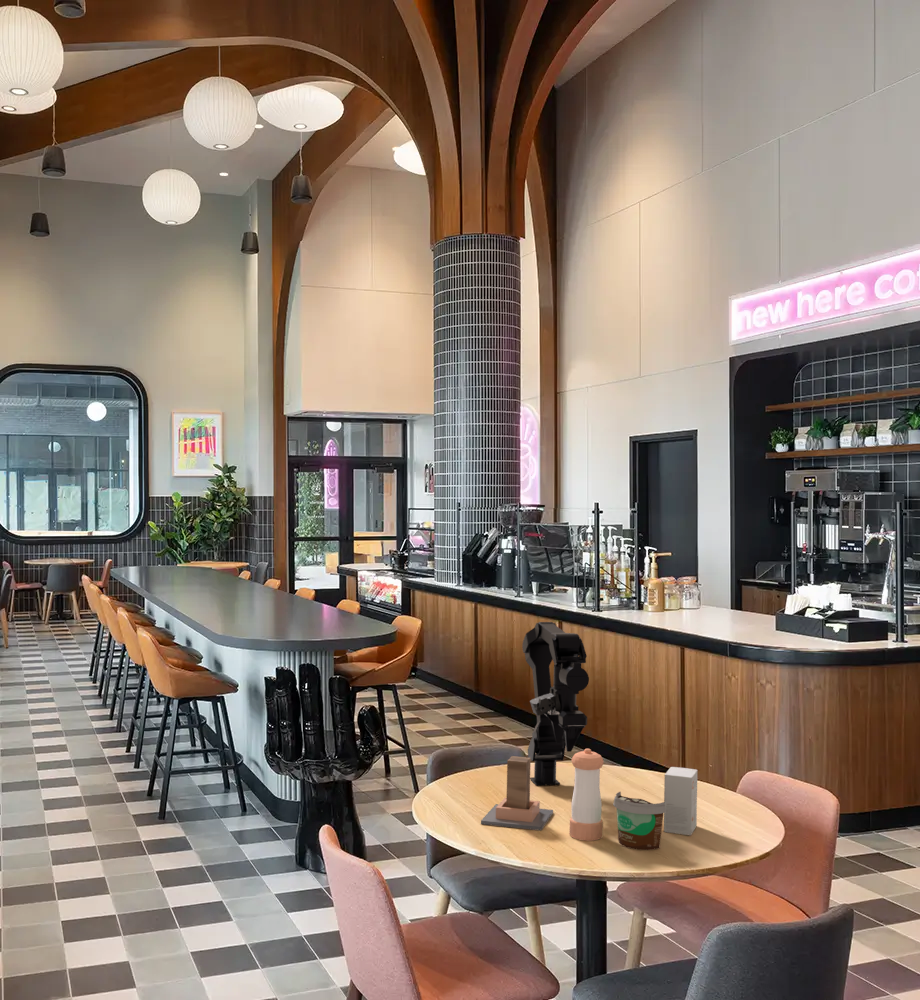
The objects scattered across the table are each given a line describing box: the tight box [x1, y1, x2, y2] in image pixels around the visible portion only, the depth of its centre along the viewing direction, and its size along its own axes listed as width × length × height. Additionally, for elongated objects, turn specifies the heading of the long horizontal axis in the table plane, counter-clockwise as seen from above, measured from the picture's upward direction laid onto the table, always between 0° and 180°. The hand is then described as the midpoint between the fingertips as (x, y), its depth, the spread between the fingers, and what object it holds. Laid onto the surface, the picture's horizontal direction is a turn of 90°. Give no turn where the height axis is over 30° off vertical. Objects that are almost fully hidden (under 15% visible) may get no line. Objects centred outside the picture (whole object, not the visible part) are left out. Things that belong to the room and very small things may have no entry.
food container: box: [613, 791, 666, 851], centre depth 226 cm, size 12×6×10 cm, turn 47°
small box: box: [663, 766, 698, 836], centre depth 239 cm, size 8×6×13 cm
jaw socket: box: [480, 797, 554, 832], centre depth 244 cm, size 14×14×3 cm
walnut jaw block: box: [506, 755, 532, 810], centre depth 244 cm, size 4×4×13 cm
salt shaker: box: [568, 748, 604, 842], centre depth 232 cm, size 7×7×19 cm
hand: (563, 747), depth 260 cm, fingers open, 9 cm apart
